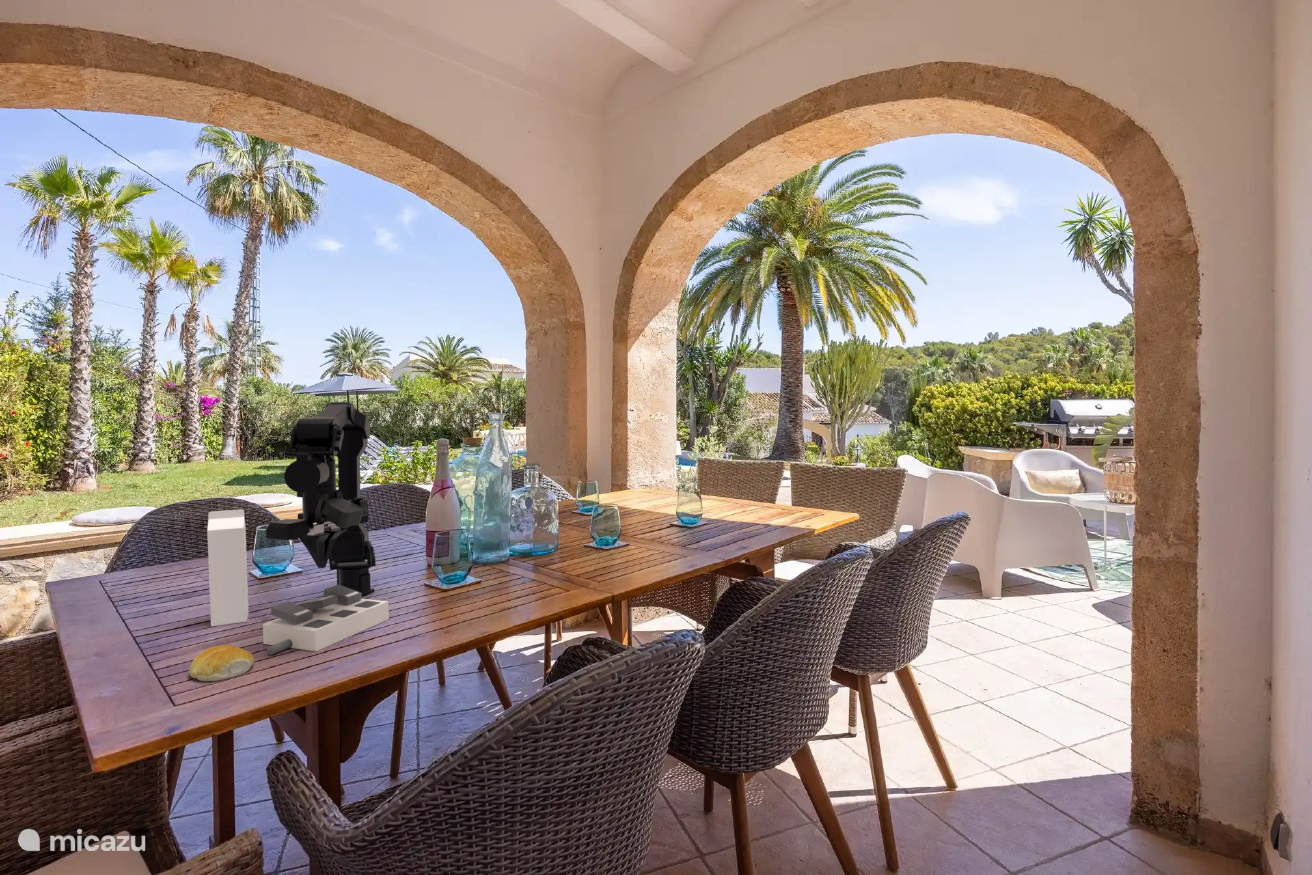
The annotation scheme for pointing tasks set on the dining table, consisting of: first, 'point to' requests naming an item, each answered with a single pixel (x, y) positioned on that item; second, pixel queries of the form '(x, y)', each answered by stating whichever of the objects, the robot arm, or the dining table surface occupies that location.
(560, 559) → the dining table surface
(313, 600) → the rocker middle
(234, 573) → the milk
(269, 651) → the power strip
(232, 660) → the bread roll
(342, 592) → the rocker
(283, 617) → the rocker
